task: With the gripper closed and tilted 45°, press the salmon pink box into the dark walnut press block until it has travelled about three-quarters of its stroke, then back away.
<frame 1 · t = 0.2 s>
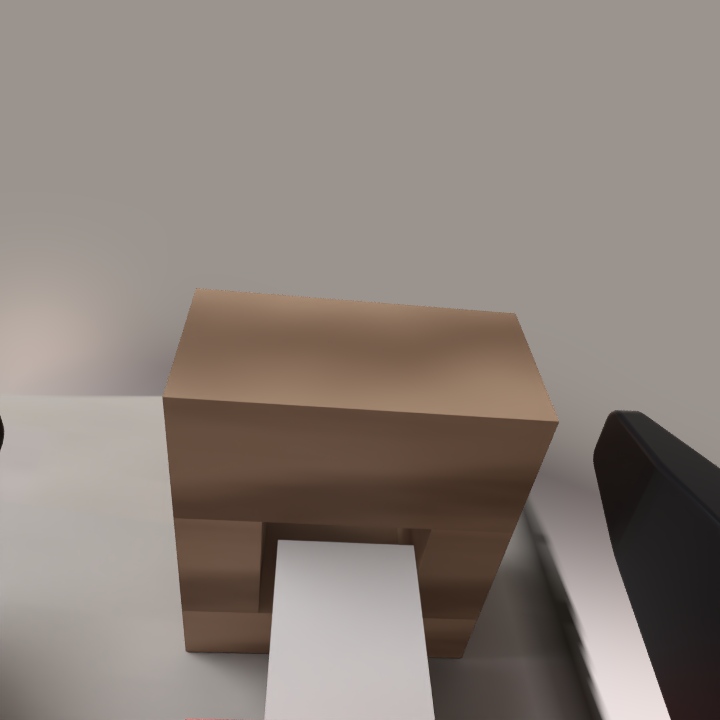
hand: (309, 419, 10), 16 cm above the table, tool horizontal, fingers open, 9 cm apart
press block: (326, 592, 25), on the table
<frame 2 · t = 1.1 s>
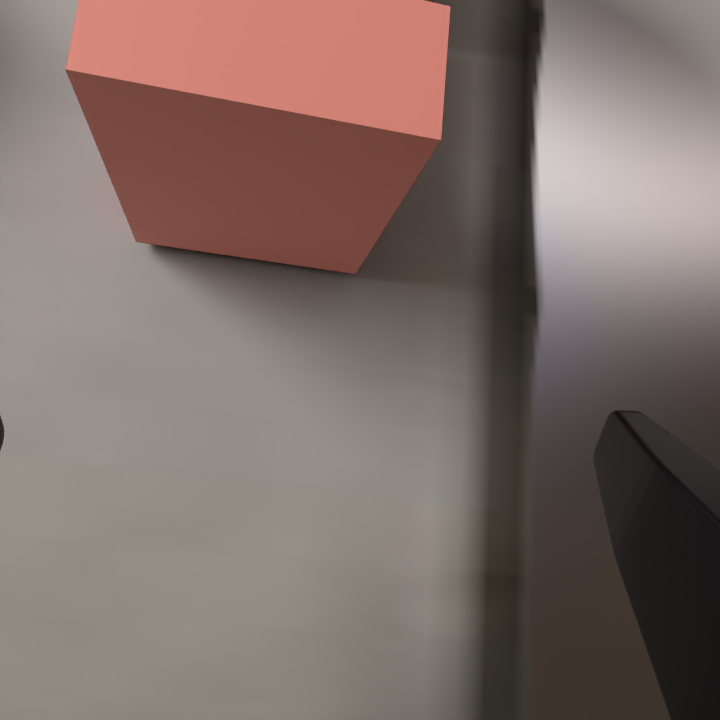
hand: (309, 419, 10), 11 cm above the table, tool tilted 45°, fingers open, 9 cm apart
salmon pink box: (273, 45, 17), point 5 cm above the table, slide at 0.0 cm
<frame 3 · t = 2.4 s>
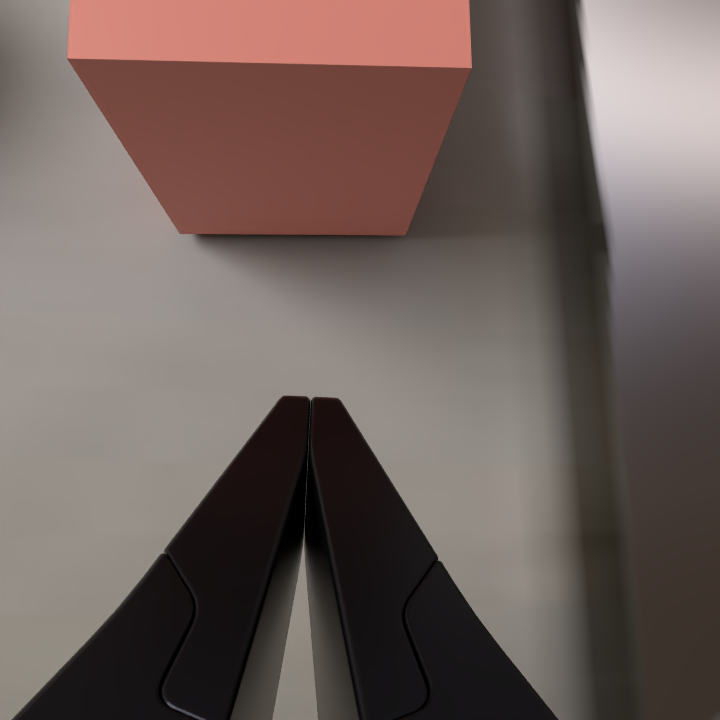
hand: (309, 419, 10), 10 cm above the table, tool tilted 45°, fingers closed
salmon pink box: (287, 3, 16), point 5 cm above the table, slide at 0.0 cm
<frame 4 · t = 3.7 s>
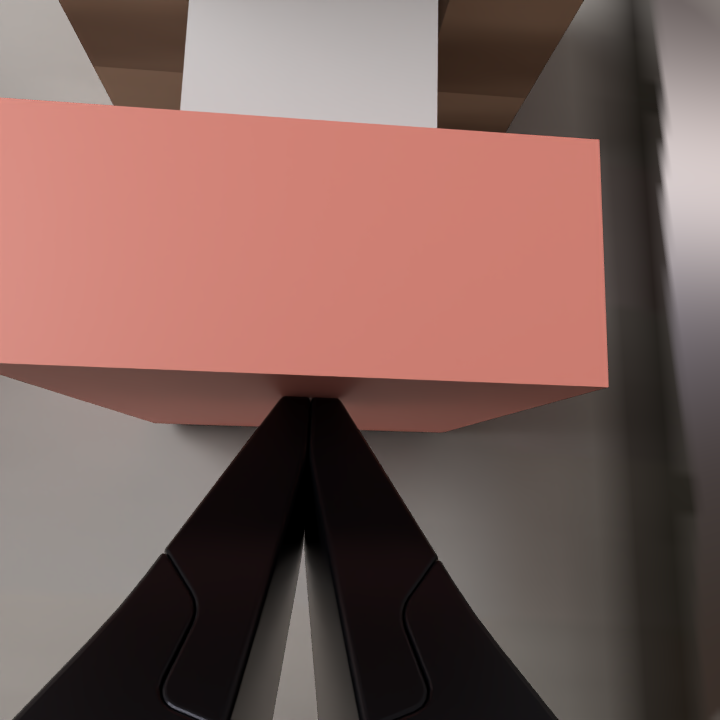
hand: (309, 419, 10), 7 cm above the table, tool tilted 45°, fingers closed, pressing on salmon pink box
press block: (317, 55, 18), on the table
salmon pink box: (309, 172, 12), point 5 cm above the table, slide at 1.5 cm, touching gripper
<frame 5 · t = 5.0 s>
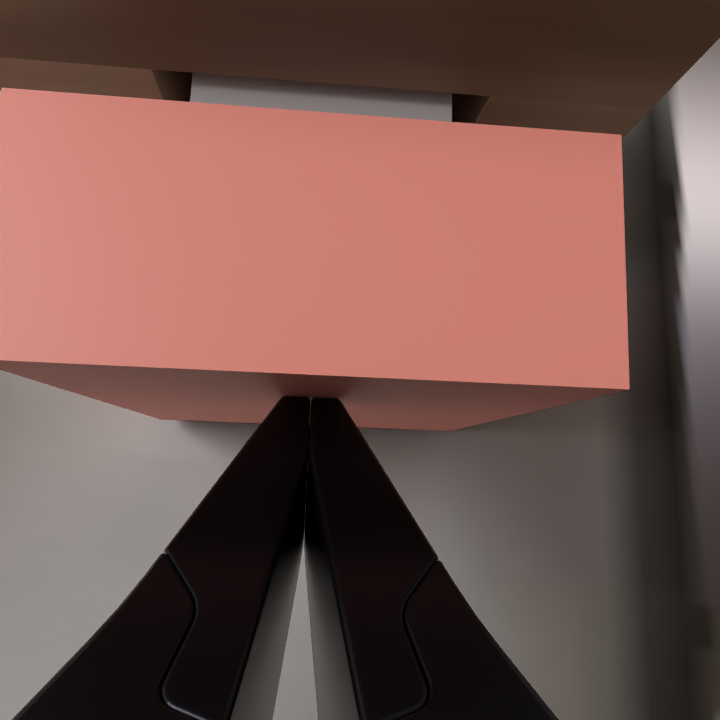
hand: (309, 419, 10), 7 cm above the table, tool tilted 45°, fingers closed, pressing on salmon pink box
press block: (321, 157, 17), on the table
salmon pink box: (320, 167, 12), point 5 cm above the table, slide at 4.7 cm, touching gripper
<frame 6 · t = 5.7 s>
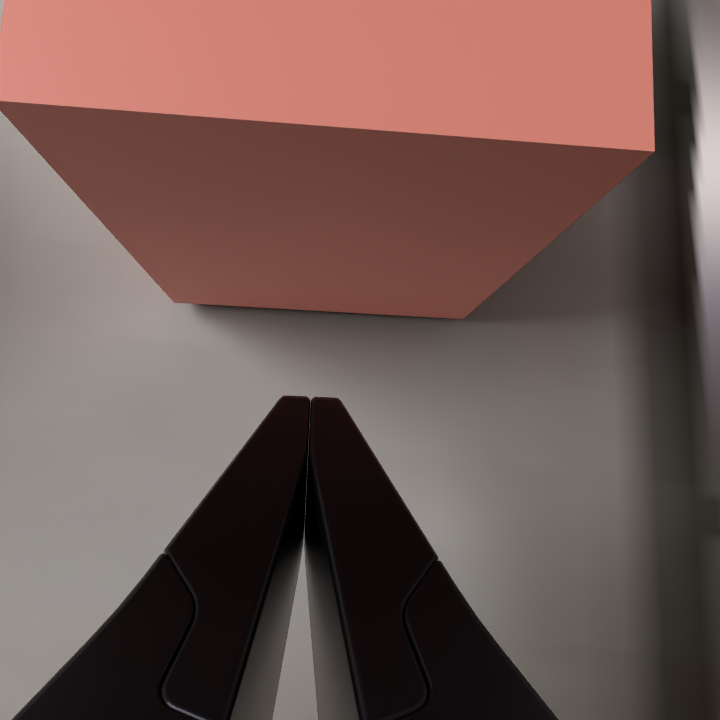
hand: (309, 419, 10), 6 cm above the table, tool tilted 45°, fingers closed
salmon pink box: (337, 19, 12), point 5 cm above the table, slide at 4.7 cm
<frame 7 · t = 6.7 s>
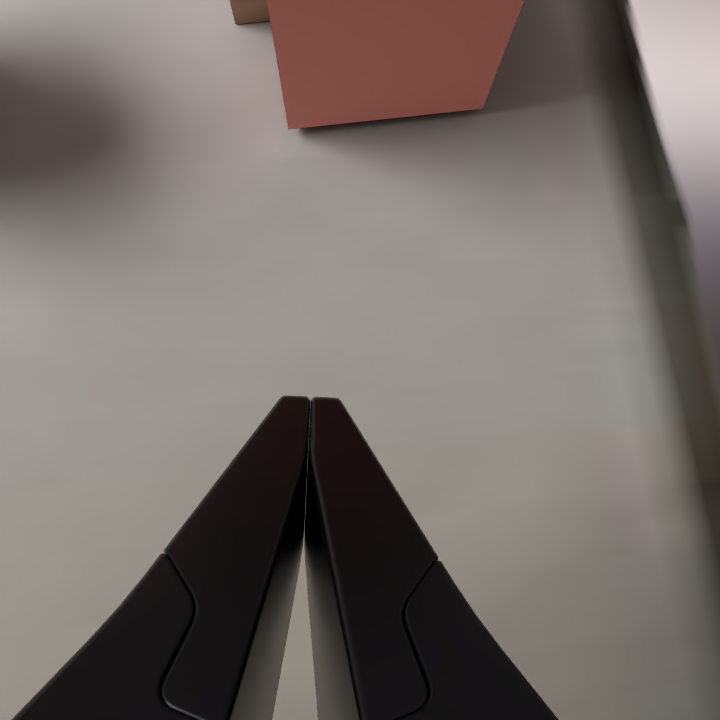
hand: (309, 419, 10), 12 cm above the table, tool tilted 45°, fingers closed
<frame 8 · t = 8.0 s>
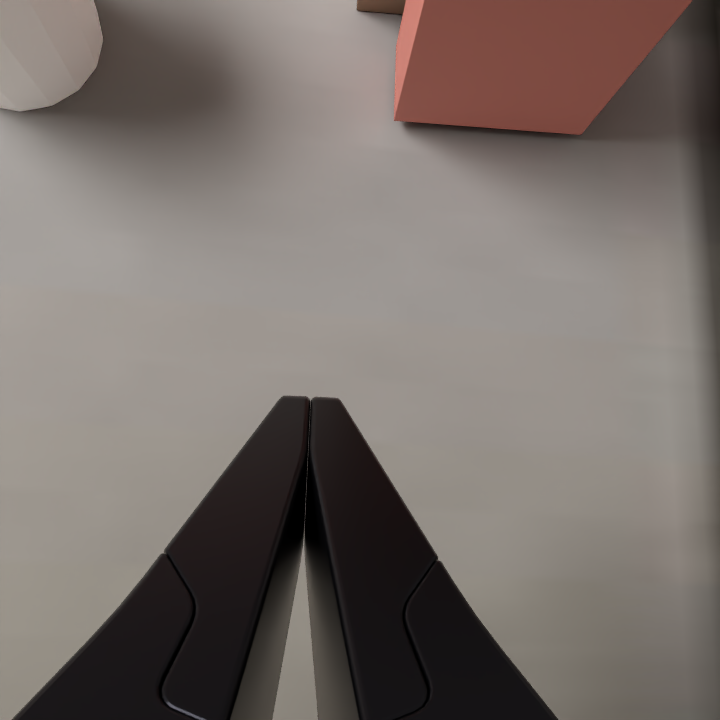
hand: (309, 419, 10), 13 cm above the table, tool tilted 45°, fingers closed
shot glass: (25, 42, 24), on the table
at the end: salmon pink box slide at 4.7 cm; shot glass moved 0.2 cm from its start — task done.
